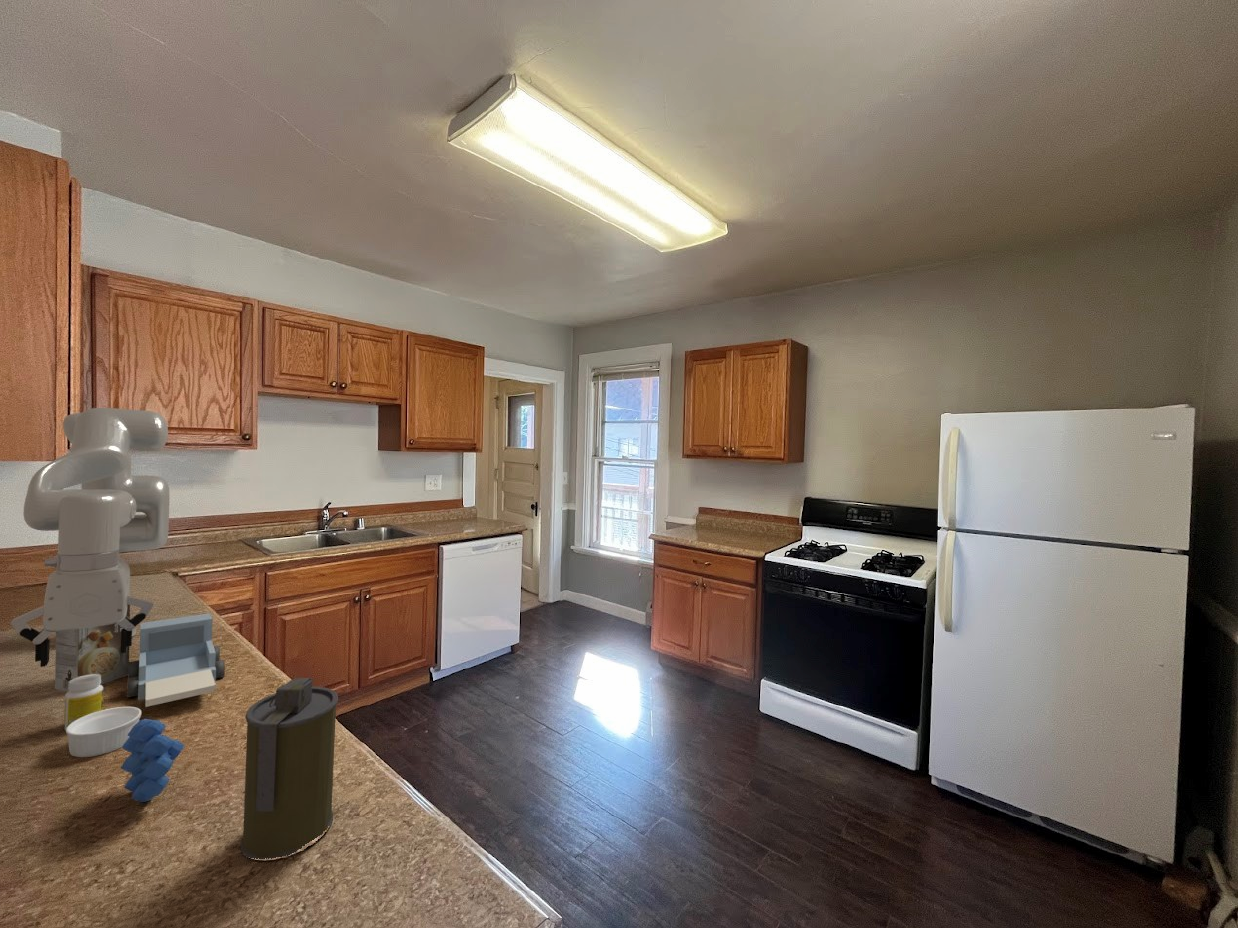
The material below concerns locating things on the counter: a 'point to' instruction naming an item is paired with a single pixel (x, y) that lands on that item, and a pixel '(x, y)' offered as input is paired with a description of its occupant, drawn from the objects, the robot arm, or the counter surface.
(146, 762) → the grapes
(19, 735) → the counter surface
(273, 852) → the canister
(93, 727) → the ramekin
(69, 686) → the supplement bottle
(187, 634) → the pale blue toy cart
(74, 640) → the coffee box
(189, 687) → the panel
